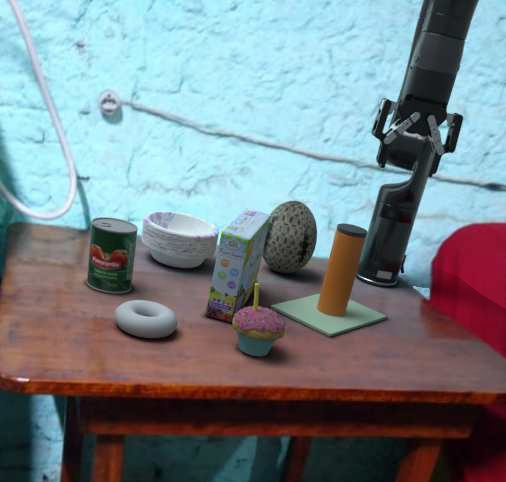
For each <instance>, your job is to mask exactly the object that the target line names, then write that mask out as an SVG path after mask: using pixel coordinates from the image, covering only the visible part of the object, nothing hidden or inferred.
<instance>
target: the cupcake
mask: <svg viewBox="0 0 506 482" xmlns="http://www.w3.org/2000/svg"><path fill="white" fill-rule="evenodd" d="M258 282H259V281H258V278H257V279H256V284H255V290H254V292H253V293H254V294H253V305H251V306H250V305H248V306H243V307H242V308H241V310H239V311H237V313H235V314H234V317H233V321H232V322H231V324H232V328H233V329H234V330H235V331H236V334H237V339H238V348H239V350H240V351H241V352H242V353H244V354H246V355H249V356H252V357H265V356H267V355H268V354H269V352H270V350H271V349H272V347H273V345H274V344H275V342H276V341H277V340H279V339H282V338H283V337H284V336H285V334H286V333H285V331H286V328H285V327H286V323H285V321H284V319H283V318H282V316H281V315H280V314H278V312H277V311H275V310H273V309H271V308H270V307H269V308H268V307H266V306H260V305H259V294H260V283H258Z"/></svg>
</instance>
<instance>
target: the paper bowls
mask: <svg viewBox="0 0 506 482" xmlns="http://www.w3.org/2000/svg"><path fill="white" fill-rule="evenodd" d="M219 234H220V231H219V229H218V227H217V226H216V225H215V224H213V223H212V222H210V221H208V220H206V219H203V218H201V217H198V216H195V215H193V214H188V213H184V212H183V213H182V212H176V211H170V210H157V211H156V210H155V211H150V212H147V213H146V214H145V215H144V216H143V219H142V229H141V238H140V239H141V240H140V241H141V242H142V244H143V245H144V246H145V247H146V248H148V249H149V252H150V255H151V257H152V258H153V259H154V260H155V261H157V262H158V263H161V264H163V265H166V266H168V267H173V268H178V269H193V268H198V267H199V266H201V265H202V263H203V262H204V261H205V259H210V258H211V257H214V256H215V253H216V250H217V245H218V241H219V240H218V239H219Z"/></svg>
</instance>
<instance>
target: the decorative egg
mask: <svg viewBox="0 0 506 482" xmlns="http://www.w3.org/2000/svg"><path fill="white" fill-rule="evenodd" d="M269 214H270V215H271V218H270V222H269V226H268V231H267V235H266V240H265V244H264V248H263V253H262V257H261V258H262V259H263V260H264V262H265V263H266V265H267V266H268V267H269V268H270V269H272V270H273V271H274V272H277V273H281V274H292V273H295V272H297V271H300V270H301V269H303V268H305V266H306V265H307V264H308V263H309V262H310V260H312V257H313V255H314V252H315V250H316V246H317V240H318V226H317V221H316V218H315V216H314V213H313V212H312V211H311V209H310V208H309V207H308V205H306V204H305V203H304V202H302V201H299V200H288V201H284V202H283V203H281V204H279V205H277V206H276V207H275V208H274V209H273V210H272V211H271V212H270V213H269Z"/></svg>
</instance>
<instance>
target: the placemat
mask: <svg viewBox="0 0 506 482" xmlns="http://www.w3.org/2000/svg"><path fill="white" fill-rule="evenodd" d="M319 296H320V293H316V294H312V295H308V296H304V297H300V298H296V299H295V298H294V299H292V300H286V301H283V302H279V303H275V304H270V307H269V309H272V310H274V311H275V312H276V313H280V314H281V315H283V316H286V317H288V318H289V319H291V320H294V321H296V322H298V323H300V324H302V325H305V326H306V327H308V328H311V329H313V330H315V331H316V332H318V333H321V334H322V335H325V336H327V337H329V338H332V337H334V336H338V335H340V334H343V333H346V332H350V331H353V330H356V329H359V328H363V327H366V326H368V325H371V324H372V325H373V324H376V323H377V322H381V321H384V320H387V315H385V314H383V313H381V312H378V311H377V310H374V309H373V308H370V307H367V306H365V305H363V304H361V303H358V302H357V301H354V300H353V299H351V298H349V302H348V306H347V309H346V313H345V315H344V316H342V317H335V316H330V315H326V314H324V313H322V312H320V311H319V310H318V309H317V304H318V300H319Z"/></svg>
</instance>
